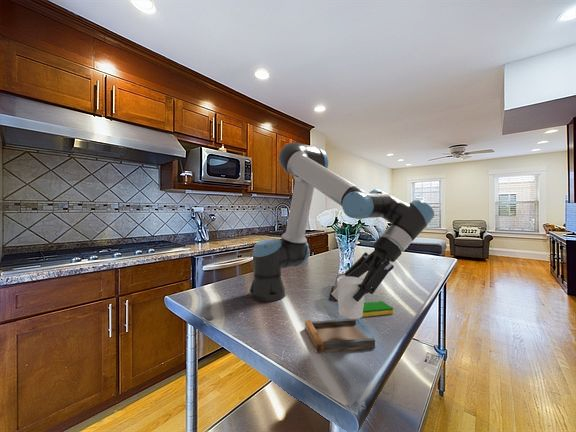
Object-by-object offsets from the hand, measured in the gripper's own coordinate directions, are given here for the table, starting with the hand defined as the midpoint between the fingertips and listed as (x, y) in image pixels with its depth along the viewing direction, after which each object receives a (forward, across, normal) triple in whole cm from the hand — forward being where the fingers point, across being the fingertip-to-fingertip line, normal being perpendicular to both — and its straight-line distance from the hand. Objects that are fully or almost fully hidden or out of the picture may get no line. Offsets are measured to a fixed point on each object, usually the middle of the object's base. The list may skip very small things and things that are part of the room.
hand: (339, 302), depth 73 cm
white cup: (0, 0, -5) cm, 5 cm away
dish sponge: (-5, +16, -21) cm, 27 cm away
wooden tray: (+8, 0, -7) cm, 10 cm away
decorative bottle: (-5, +41, -20) cm, 46 cm away
